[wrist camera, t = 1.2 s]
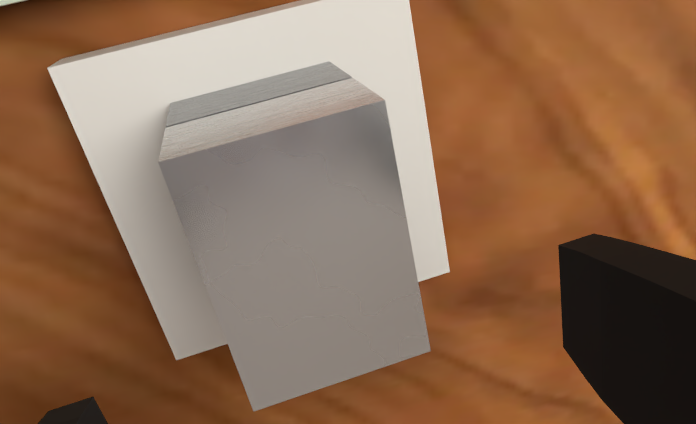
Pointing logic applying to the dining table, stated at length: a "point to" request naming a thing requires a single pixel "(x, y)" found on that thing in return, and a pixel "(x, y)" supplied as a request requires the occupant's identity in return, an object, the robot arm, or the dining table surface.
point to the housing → (297, 228)
